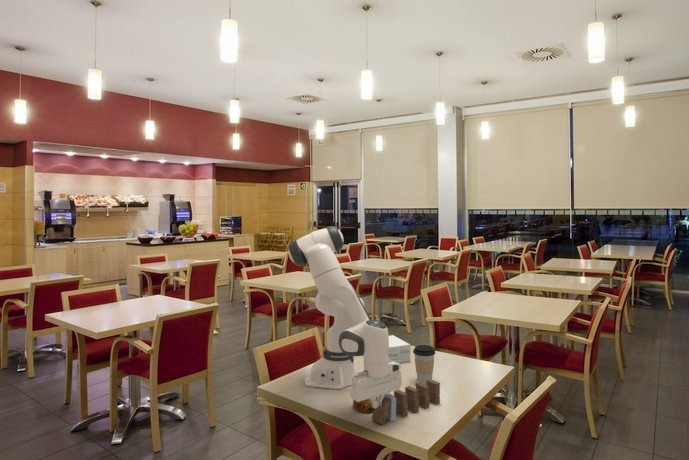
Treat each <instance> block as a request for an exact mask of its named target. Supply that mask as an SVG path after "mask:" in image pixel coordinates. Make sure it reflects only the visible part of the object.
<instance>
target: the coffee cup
mask: <svg viewBox="0 0 689 460" xmlns="http://www.w3.org/2000/svg"><path fill="white" fill-rule="evenodd" d="M412 354H414V363H415V364H414V365H415V366H414V367H415V371H416V372H415V373H416V377H417V383H419V382H420V383H422V384H425V385H426V380H429V379H431V380H433V374H434V367H435V365H434V363H435V355H436V350H435V348H434V347H433V346H432V345H427V344H419V345H416V346H414V348H413V350H412Z"/></svg>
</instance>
